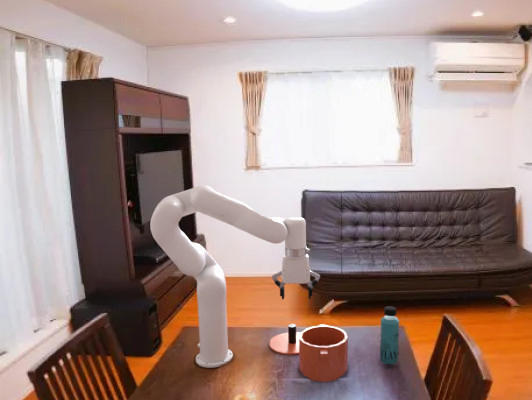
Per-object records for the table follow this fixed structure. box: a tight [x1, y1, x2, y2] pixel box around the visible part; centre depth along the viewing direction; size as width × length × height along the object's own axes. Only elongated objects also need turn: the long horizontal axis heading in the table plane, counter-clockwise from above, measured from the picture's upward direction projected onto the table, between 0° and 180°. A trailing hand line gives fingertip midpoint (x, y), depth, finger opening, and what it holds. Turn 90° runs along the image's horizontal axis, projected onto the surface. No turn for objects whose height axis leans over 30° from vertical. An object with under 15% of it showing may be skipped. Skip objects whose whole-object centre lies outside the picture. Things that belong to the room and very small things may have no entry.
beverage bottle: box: [379, 305, 400, 365], centre depth 145 cm, size 6×7×20 cm
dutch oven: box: [298, 323, 349, 383], centre depth 143 cm, size 16×21×12 cm
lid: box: [268, 323, 302, 356], centre depth 160 cm, size 17×17×8 cm
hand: (296, 297), depth 155 cm, fingers open, 9 cm apart
